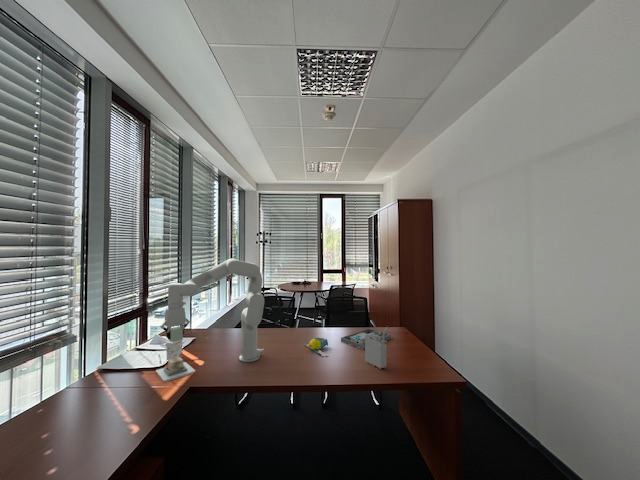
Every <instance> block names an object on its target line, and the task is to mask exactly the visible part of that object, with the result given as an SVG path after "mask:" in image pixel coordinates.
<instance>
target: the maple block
mask: <svg viewBox="0 0 640 480" xmlns="http://www.w3.org/2000/svg"><path fill="white" fill-rule="evenodd" d="M183 362H184V359H183V357H181V358H180V357H177V358H173V359H169V360H168V362H167V365H168V366H167V367H168V371H169V372H170V373H172V372H175V371H179V370H182V369H183Z"/></svg>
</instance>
